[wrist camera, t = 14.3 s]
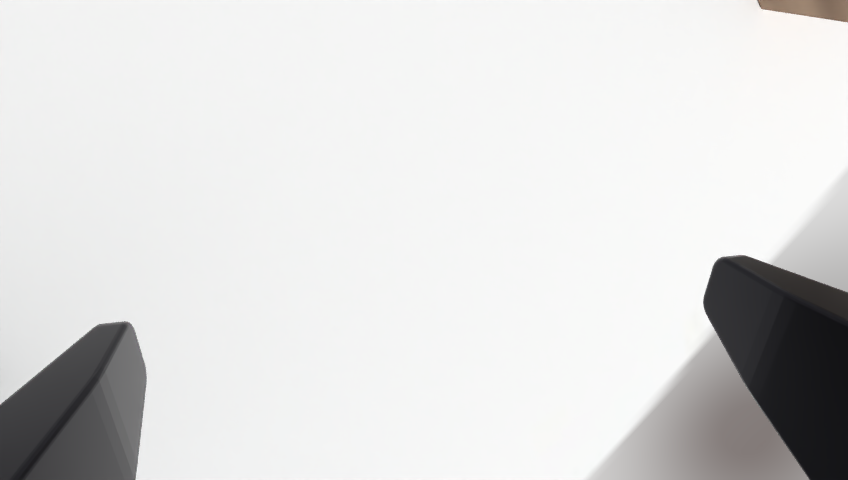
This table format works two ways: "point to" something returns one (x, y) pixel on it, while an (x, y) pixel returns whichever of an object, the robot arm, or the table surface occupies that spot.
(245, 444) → the table surface
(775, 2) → the frame
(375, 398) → the table surface
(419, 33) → the table surface
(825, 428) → the robot arm
